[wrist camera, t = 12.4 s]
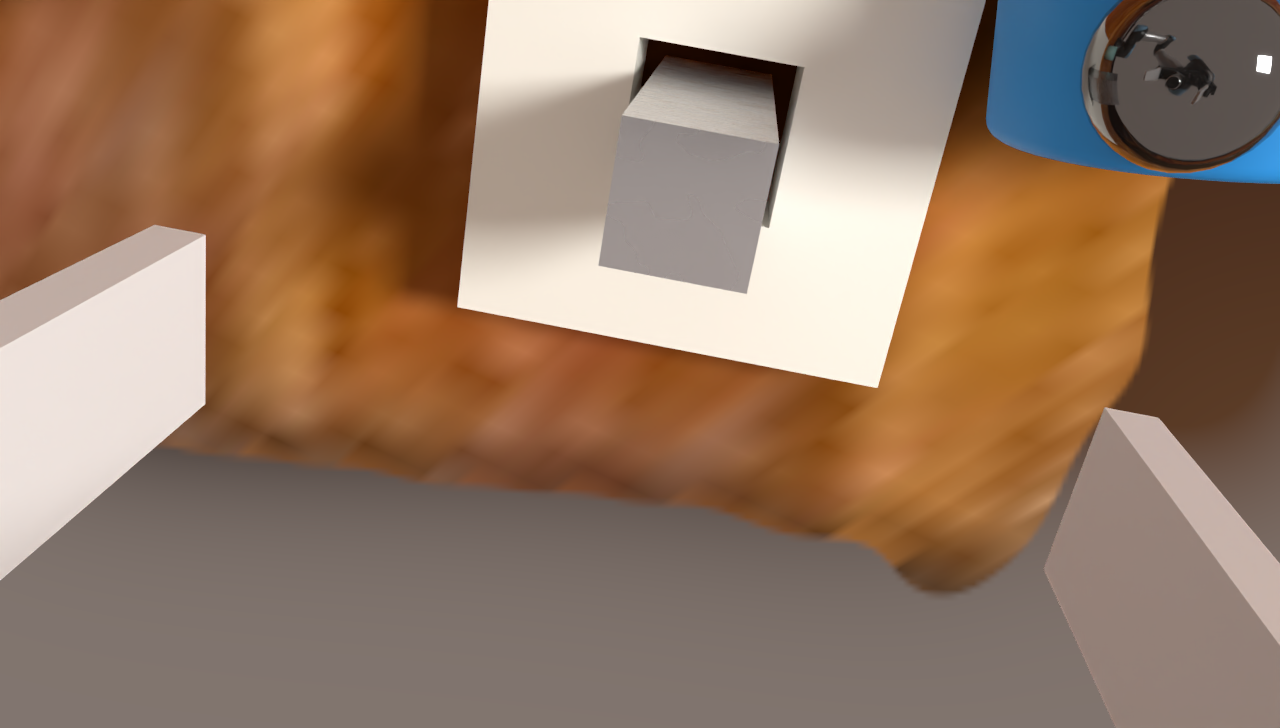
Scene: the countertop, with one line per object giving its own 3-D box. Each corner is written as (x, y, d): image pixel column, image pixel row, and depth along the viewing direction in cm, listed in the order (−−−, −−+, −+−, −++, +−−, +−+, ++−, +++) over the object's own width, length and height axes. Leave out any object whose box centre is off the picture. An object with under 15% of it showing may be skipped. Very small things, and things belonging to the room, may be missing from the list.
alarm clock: (1366, -75, 35) (1759, -79, 22) (1325, 112, 38) (1655, 216, 24) (967, -66, 37) (1095, -66, 23) (950, 114, 39) (1057, 213, 25)
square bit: (648, 160, 41) (598, 265, 28) (666, 55, 39) (622, 115, 26) (749, 179, 41) (746, 293, 28) (771, 74, 39) (779, 144, 26)
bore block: (482, 275, 43) (457, 307, 40) (530, -152, 37) (505, -162, 33) (866, 348, 43) (877, 387, 39) (980, -72, 36) (1005, -72, 33)
